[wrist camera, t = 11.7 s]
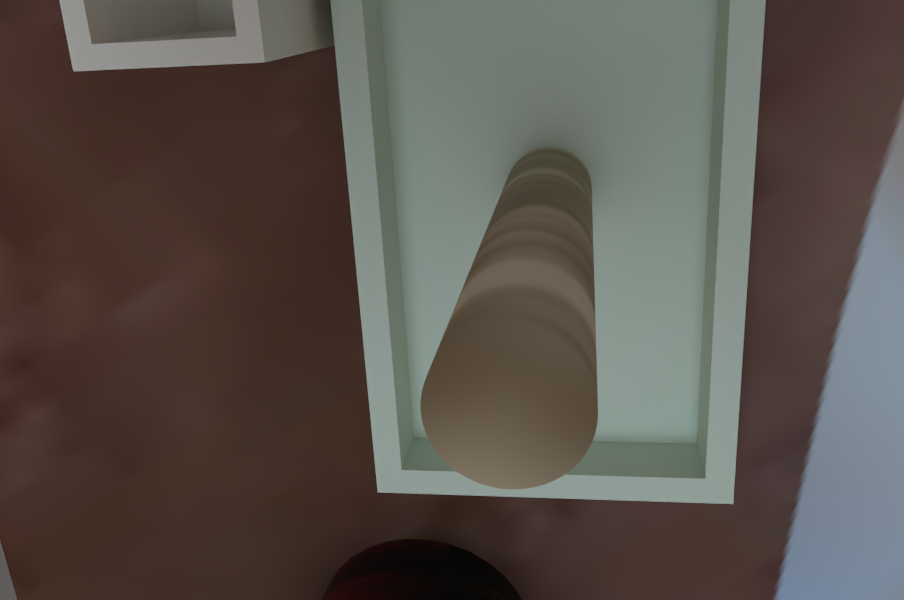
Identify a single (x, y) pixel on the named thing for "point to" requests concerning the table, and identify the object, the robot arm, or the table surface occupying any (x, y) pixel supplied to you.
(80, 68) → the cup
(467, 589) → the mug
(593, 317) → the dowel
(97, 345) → the table surface
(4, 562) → the robot arm
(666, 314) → the tray
